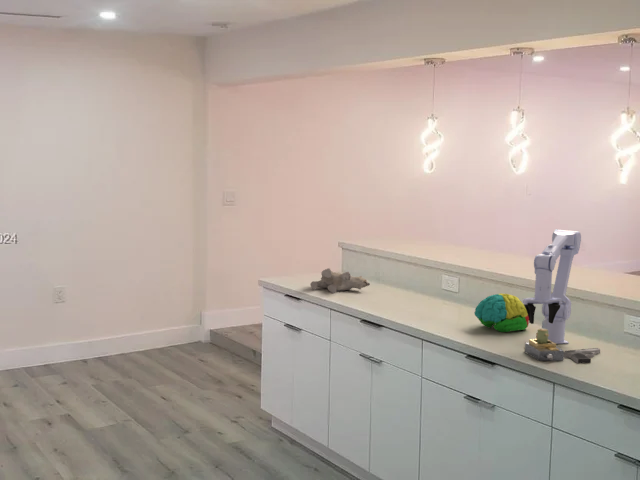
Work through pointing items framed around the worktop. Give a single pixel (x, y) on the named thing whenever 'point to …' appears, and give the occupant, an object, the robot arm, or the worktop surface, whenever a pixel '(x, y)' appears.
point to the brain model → (502, 313)
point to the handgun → (581, 355)
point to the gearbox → (544, 350)
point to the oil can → (542, 336)
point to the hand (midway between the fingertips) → (541, 323)
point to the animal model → (339, 281)
